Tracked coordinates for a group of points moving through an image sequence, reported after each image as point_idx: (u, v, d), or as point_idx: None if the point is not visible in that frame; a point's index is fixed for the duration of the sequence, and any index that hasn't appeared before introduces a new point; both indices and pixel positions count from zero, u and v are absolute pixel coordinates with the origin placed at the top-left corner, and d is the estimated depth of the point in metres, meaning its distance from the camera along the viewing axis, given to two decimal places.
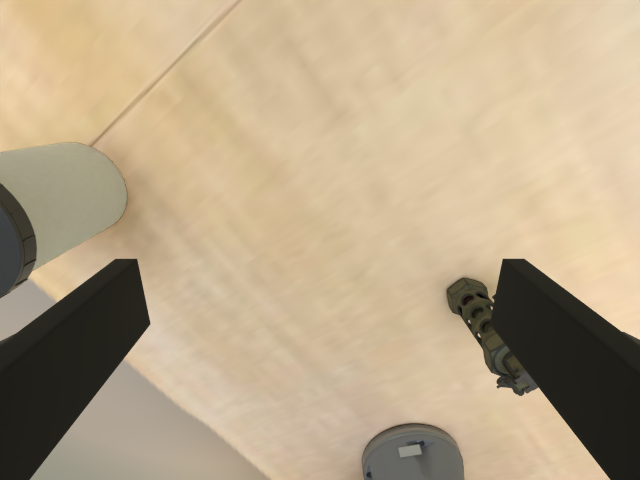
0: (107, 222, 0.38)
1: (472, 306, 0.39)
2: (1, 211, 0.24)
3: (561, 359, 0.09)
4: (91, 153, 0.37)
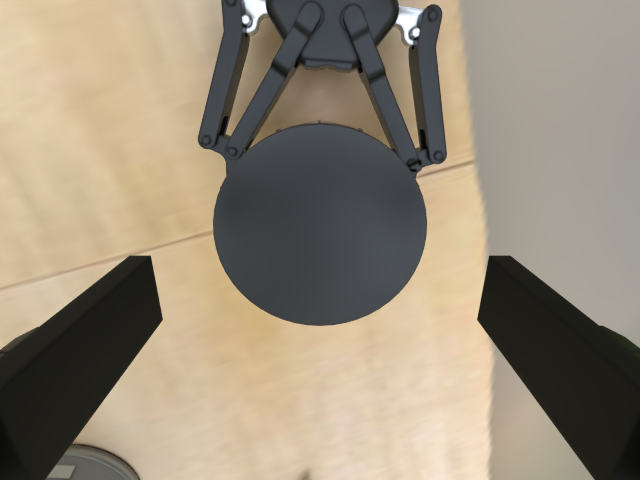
0: None
1: None
2: (215, 233, 0.18)
3: (542, 352, 0.10)
4: None
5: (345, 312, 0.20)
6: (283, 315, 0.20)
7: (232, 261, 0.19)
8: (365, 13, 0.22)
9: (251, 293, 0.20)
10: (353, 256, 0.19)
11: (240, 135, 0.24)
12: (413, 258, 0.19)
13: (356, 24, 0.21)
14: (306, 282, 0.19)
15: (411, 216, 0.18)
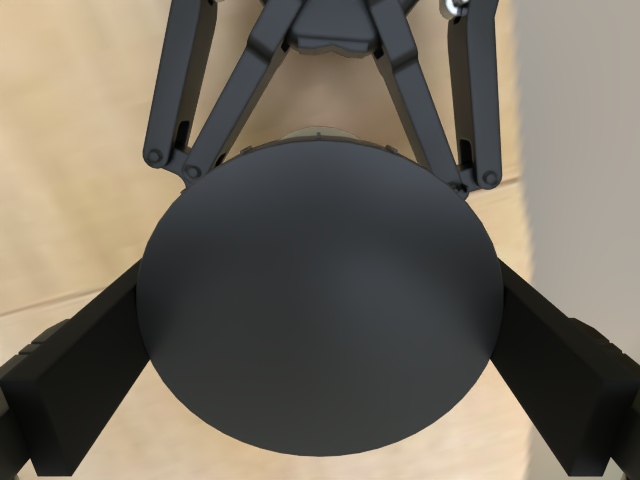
0: None
1: None
2: (141, 324, 0.11)
3: (515, 344, 0.10)
4: None
5: (360, 439, 0.12)
6: (261, 442, 0.12)
7: (173, 366, 0.11)
8: None
9: (207, 412, 0.12)
10: (376, 358, 0.11)
11: (203, 148, 0.17)
12: (476, 362, 0.11)
13: None
14: (297, 396, 0.12)
15: (478, 297, 0.10)
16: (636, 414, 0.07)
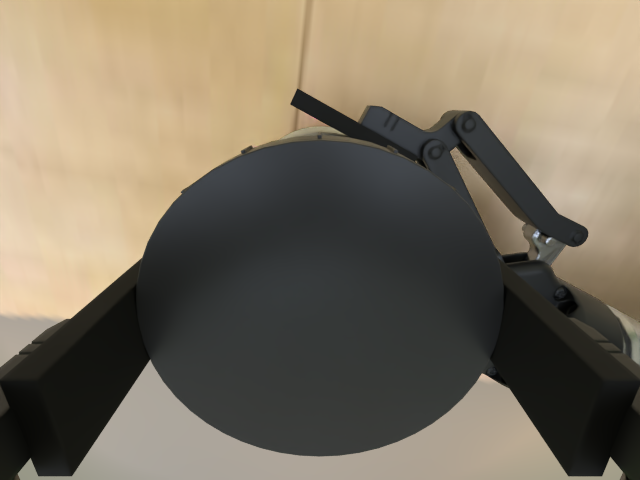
0: None
1: None
2: (141, 323, 0.11)
3: (515, 343, 0.10)
4: (309, 128, 0.23)
5: (360, 438, 0.12)
6: (260, 442, 0.12)
7: (173, 365, 0.11)
8: None
9: (207, 412, 0.12)
10: (376, 359, 0.11)
11: (448, 173, 0.17)
12: (476, 362, 0.11)
13: None
14: (297, 396, 0.12)
15: (478, 298, 0.10)
16: (636, 414, 0.07)
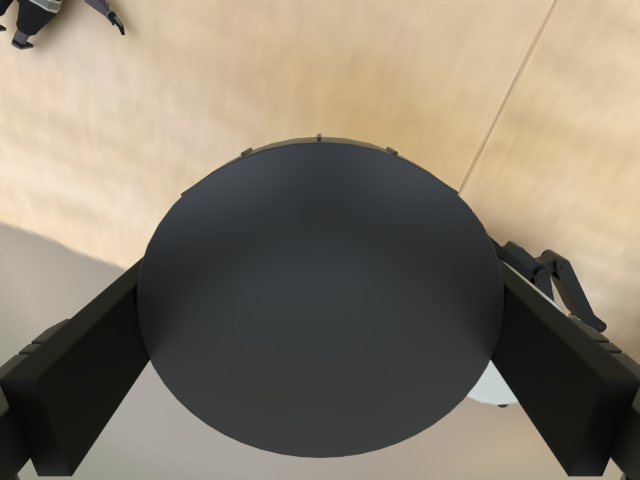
0: None
1: None
2: (142, 326, 0.11)
3: (515, 344, 0.10)
4: None
5: (361, 440, 0.12)
6: (261, 444, 0.12)
7: (174, 368, 0.11)
8: None
9: (208, 414, 0.12)
10: (377, 360, 0.11)
11: (546, 286, 0.33)
12: (477, 363, 0.11)
13: None
14: (298, 398, 0.12)
15: (478, 299, 0.10)
16: (636, 414, 0.07)
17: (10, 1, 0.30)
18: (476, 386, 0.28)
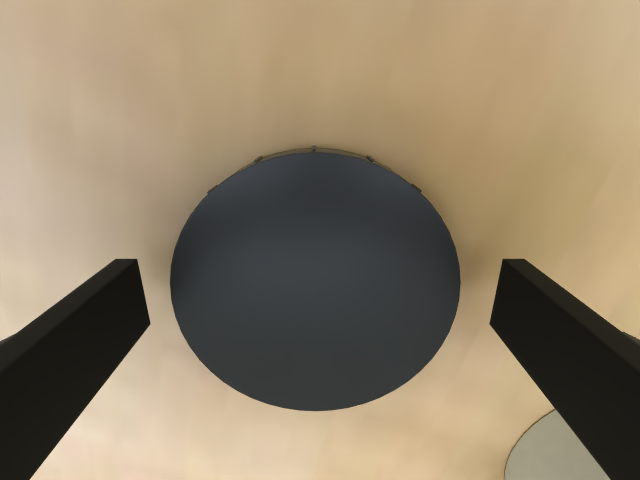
0: None
1: None
2: (173, 297, 0.13)
3: (561, 359, 0.09)
4: None
5: (349, 395, 0.15)
6: (267, 399, 0.15)
7: (197, 332, 0.14)
8: None
9: (224, 372, 0.15)
10: (361, 325, 0.14)
11: None
12: (441, 328, 0.14)
13: None
14: (297, 358, 0.14)
15: (439, 274, 0.13)
16: None
17: None
18: None
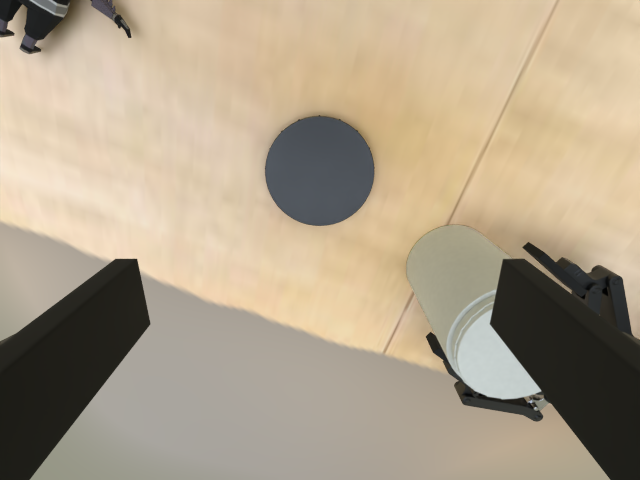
0: None
1: None
2: (266, 173, 0.36)
3: (561, 359, 0.09)
4: (462, 229, 0.38)
5: (333, 217, 0.37)
6: (300, 219, 0.38)
7: (274, 188, 0.36)
8: None
9: (283, 206, 0.37)
10: (337, 185, 0.36)
11: (595, 301, 0.34)
12: (368, 186, 0.36)
13: None
14: (312, 200, 0.37)
15: (366, 163, 0.35)
16: None
17: (18, 6, 0.30)
18: (484, 381, 0.28)
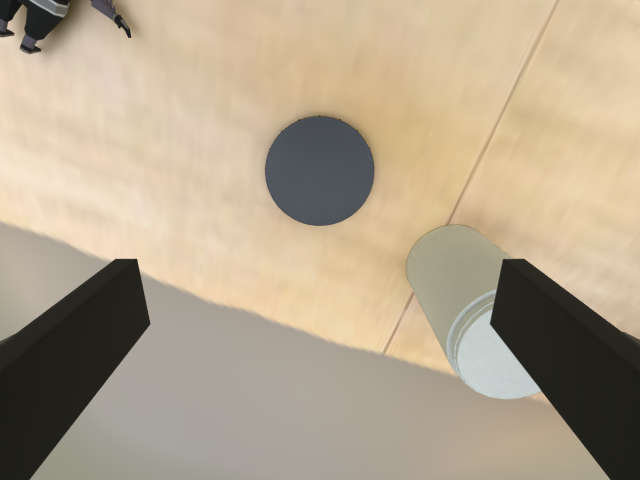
0: None
1: None
2: (266, 173, 0.36)
3: (561, 359, 0.09)
4: (462, 229, 0.38)
5: (333, 217, 0.37)
6: (300, 219, 0.38)
7: (274, 188, 0.36)
8: None
9: (283, 206, 0.37)
10: (337, 185, 0.36)
11: None
12: (368, 186, 0.36)
13: None
14: (312, 200, 0.37)
15: (366, 163, 0.35)
16: None
17: (18, 6, 0.30)
18: (484, 381, 0.28)
